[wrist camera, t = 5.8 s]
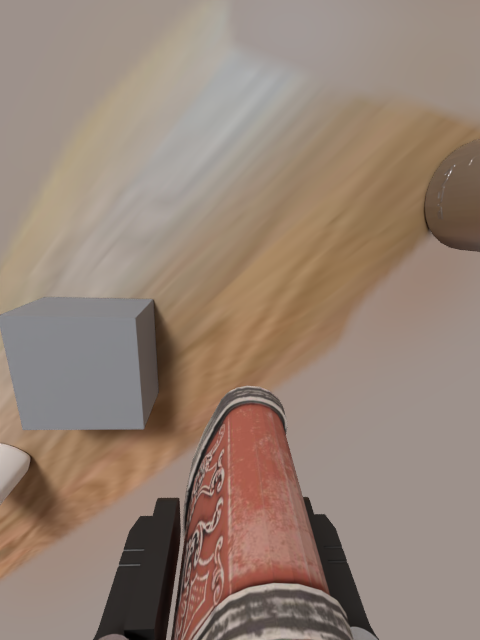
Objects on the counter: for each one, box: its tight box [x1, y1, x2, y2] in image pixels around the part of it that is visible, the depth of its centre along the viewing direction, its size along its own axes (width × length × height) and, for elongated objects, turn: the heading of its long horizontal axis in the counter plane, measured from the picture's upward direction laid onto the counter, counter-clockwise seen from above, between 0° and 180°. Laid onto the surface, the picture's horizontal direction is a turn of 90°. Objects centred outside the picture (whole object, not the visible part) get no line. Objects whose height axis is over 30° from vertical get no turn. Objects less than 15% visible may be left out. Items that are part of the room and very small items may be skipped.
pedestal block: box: [0, 297, 159, 430], centre depth 27 cm, size 10×10×6 cm
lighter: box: [171, 386, 354, 640], centre depth 8 cm, size 8×3×10 cm, turn 164°
